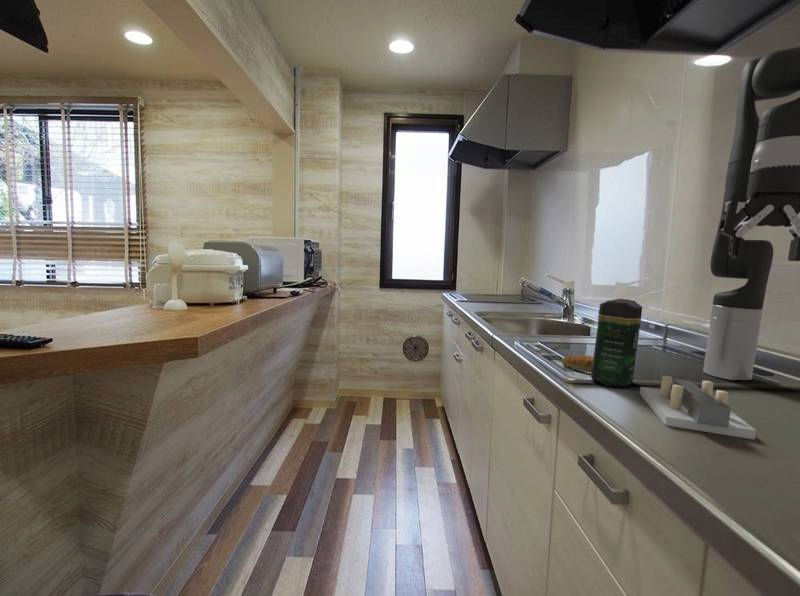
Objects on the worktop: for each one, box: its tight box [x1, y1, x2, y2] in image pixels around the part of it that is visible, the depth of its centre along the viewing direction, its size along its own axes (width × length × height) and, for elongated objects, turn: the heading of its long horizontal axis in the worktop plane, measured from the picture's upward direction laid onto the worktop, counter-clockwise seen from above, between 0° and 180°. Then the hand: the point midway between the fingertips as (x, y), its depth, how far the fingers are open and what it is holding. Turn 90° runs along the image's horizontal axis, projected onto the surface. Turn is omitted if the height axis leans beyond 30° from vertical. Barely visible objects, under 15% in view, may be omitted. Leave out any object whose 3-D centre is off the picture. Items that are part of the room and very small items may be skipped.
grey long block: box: [672, 378, 732, 428], centre depth 68 cm, size 14×4×3 cm, turn 162°
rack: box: [639, 375, 757, 440], centre depth 70 cm, size 16×12×6 cm
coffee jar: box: [590, 298, 643, 388], centre depth 86 cm, size 10×8×19 cm
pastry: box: [561, 354, 594, 372], centre depth 96 cm, size 9×7×4 cm
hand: (764, 259), depth 71 cm, fingers open, 8 cm apart
